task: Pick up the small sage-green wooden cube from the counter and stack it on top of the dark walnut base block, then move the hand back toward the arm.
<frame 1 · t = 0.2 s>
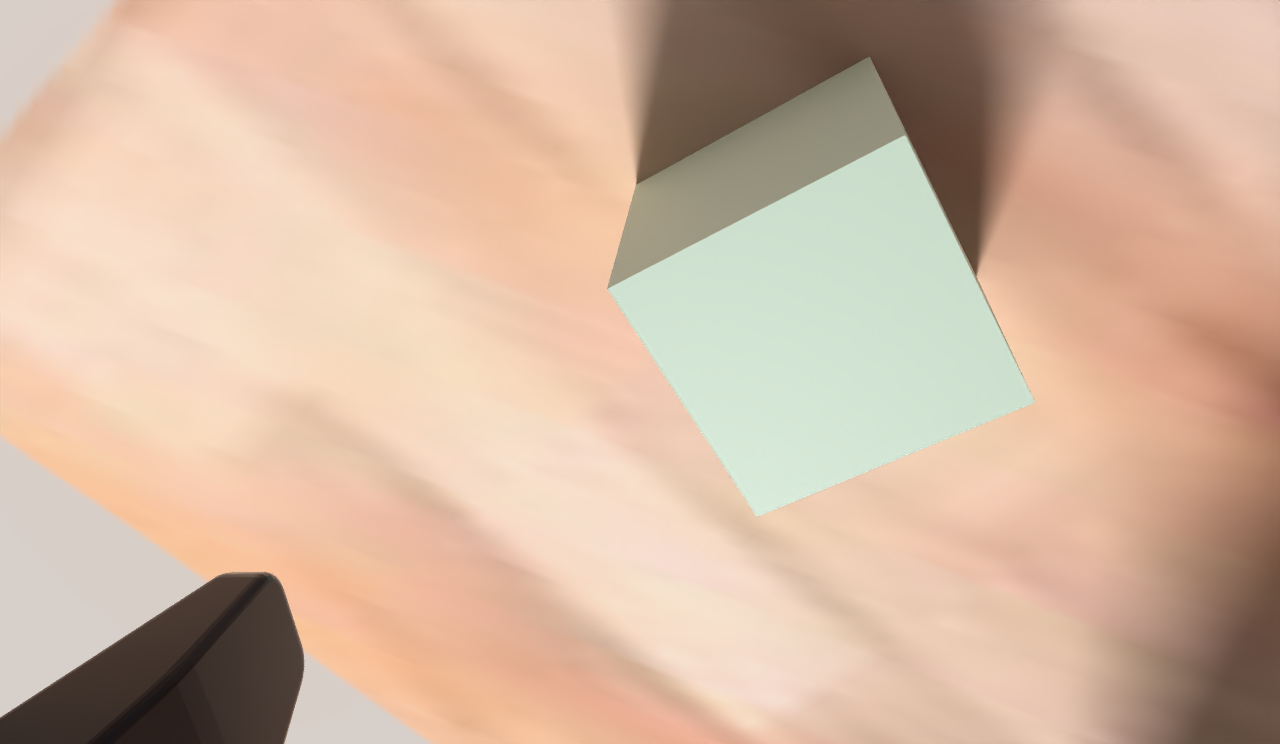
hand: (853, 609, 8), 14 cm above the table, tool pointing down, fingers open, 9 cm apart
sage cube: (807, 229, 21), on the table
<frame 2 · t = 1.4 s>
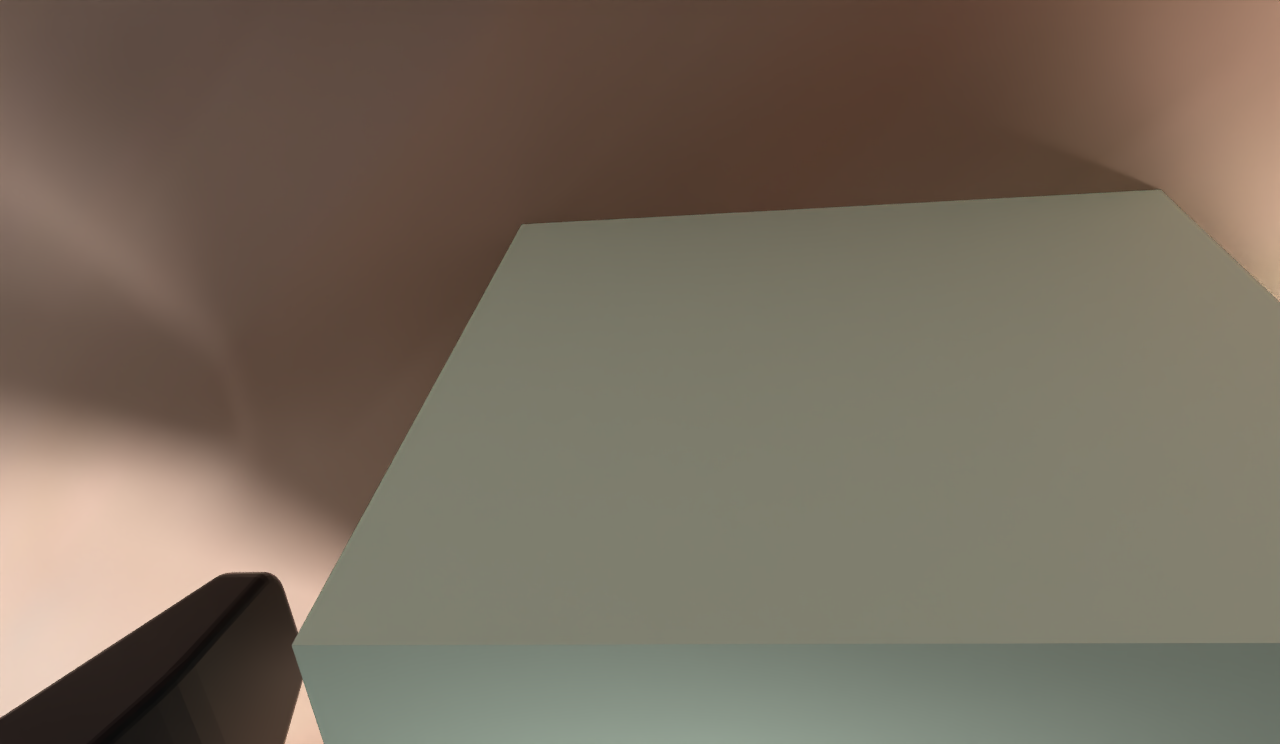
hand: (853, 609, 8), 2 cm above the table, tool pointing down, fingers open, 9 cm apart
sage cube: (829, 464, 10), on the table
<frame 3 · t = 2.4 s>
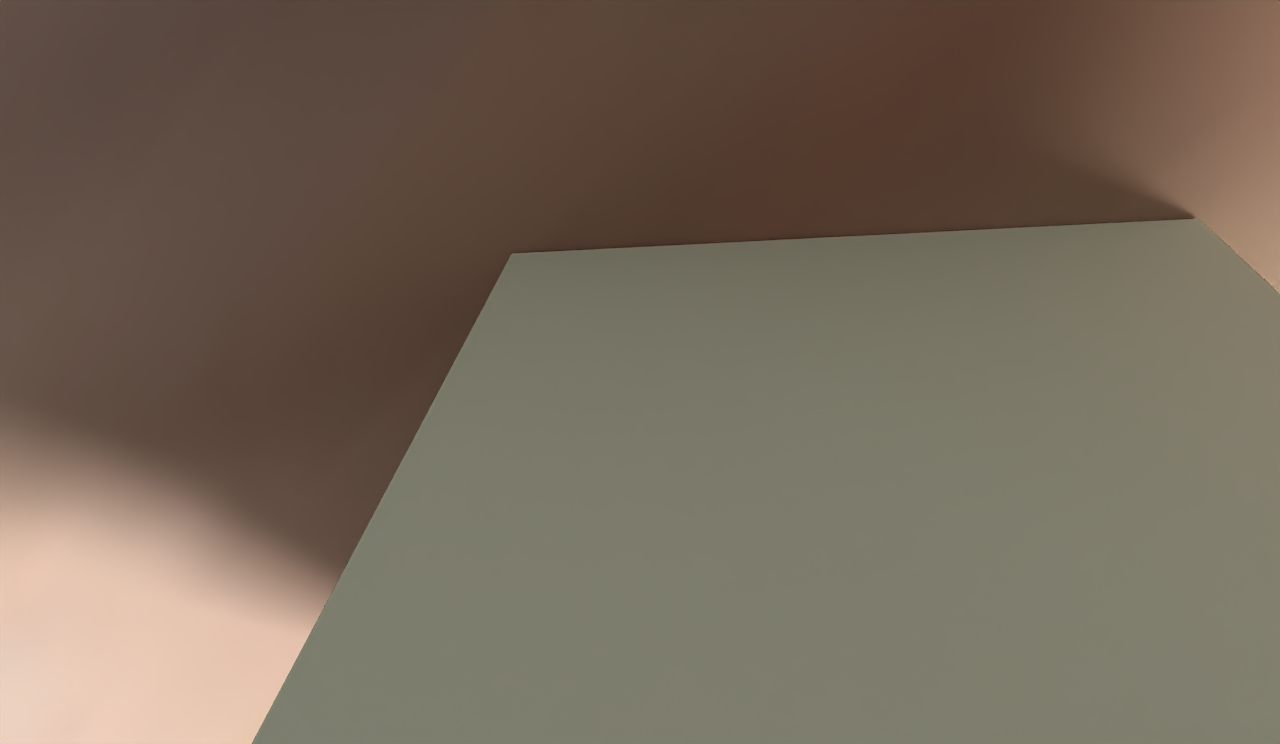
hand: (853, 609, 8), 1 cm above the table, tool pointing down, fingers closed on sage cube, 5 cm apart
sage cube: (841, 511, 9), on the table, touching gripper
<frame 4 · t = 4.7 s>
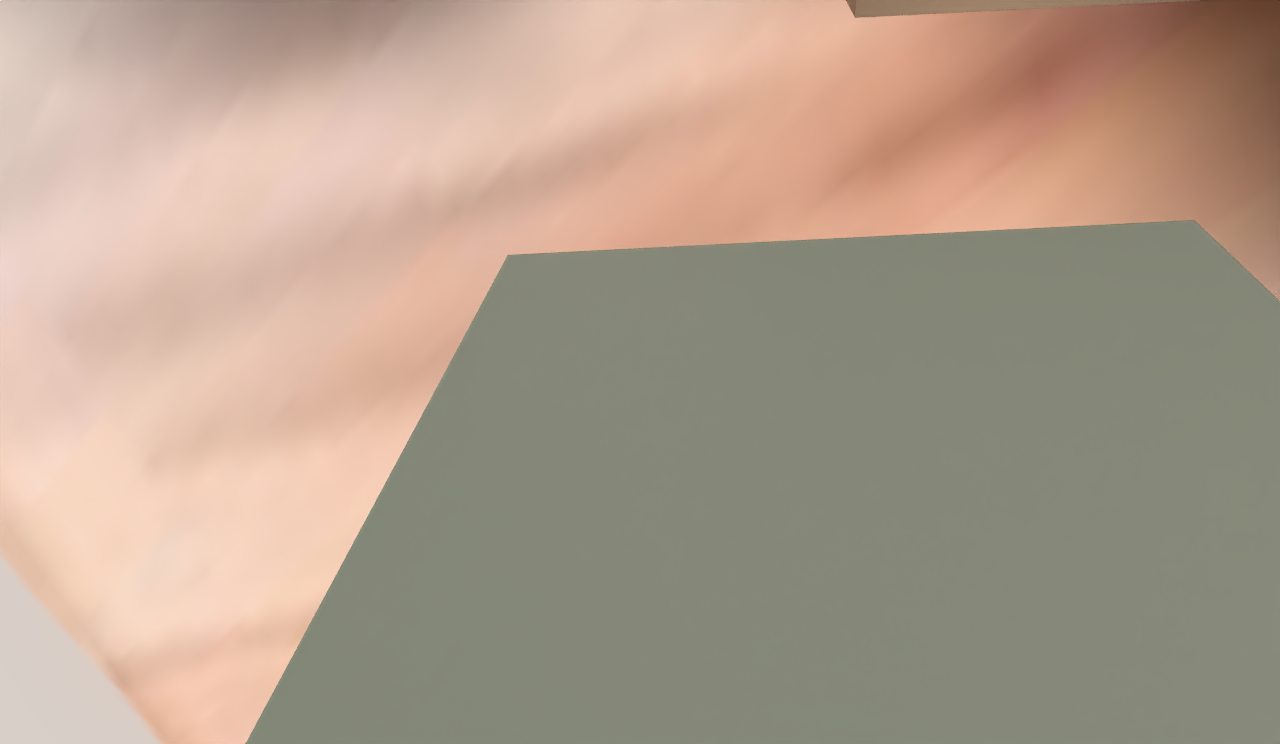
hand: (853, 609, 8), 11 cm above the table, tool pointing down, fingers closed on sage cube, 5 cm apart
sage cube: (837, 512, 9), point 10 cm above the table, touching gripper
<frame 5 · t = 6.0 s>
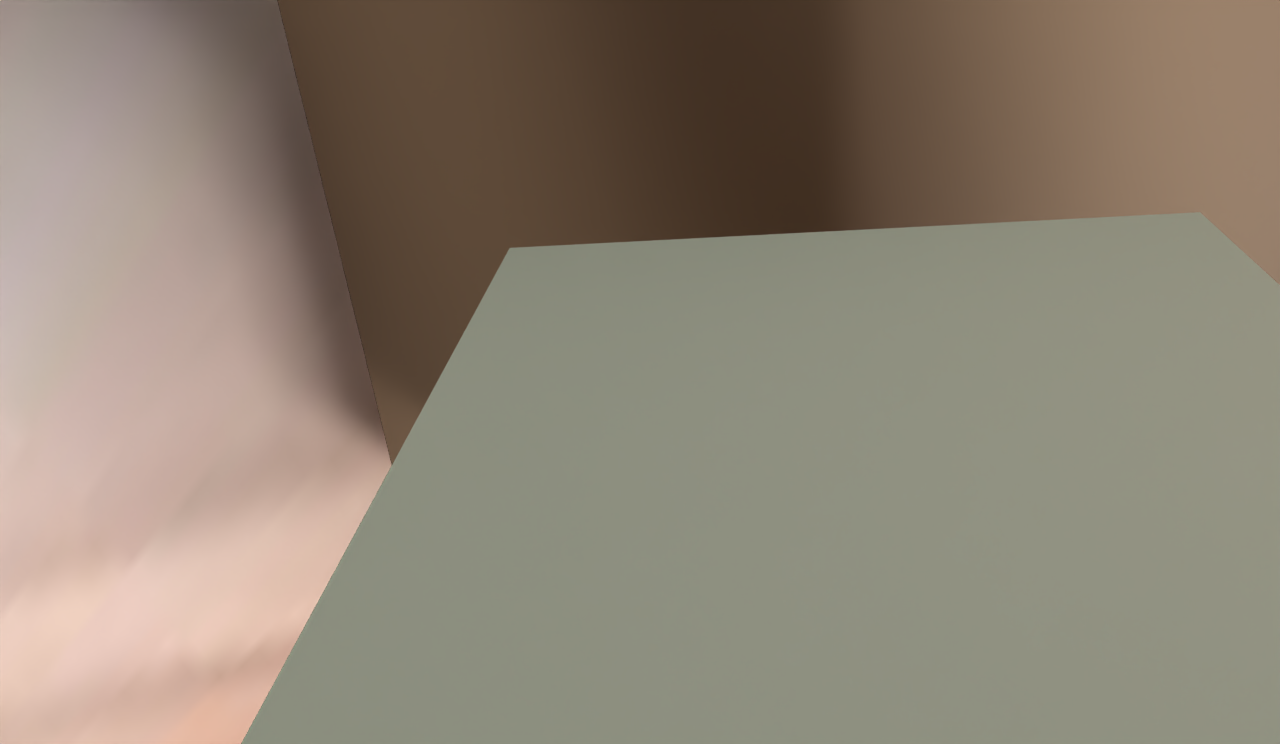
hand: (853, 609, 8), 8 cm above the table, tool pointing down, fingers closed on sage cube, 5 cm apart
sage cube: (840, 507, 9), point 7 cm above the table, touching gripper
walnut base: (800, 225, 15), on the table
when the fingers open (7 cm above the table, at t = 7.1 s): sage cube drops 1 cm, resting on walnut base.
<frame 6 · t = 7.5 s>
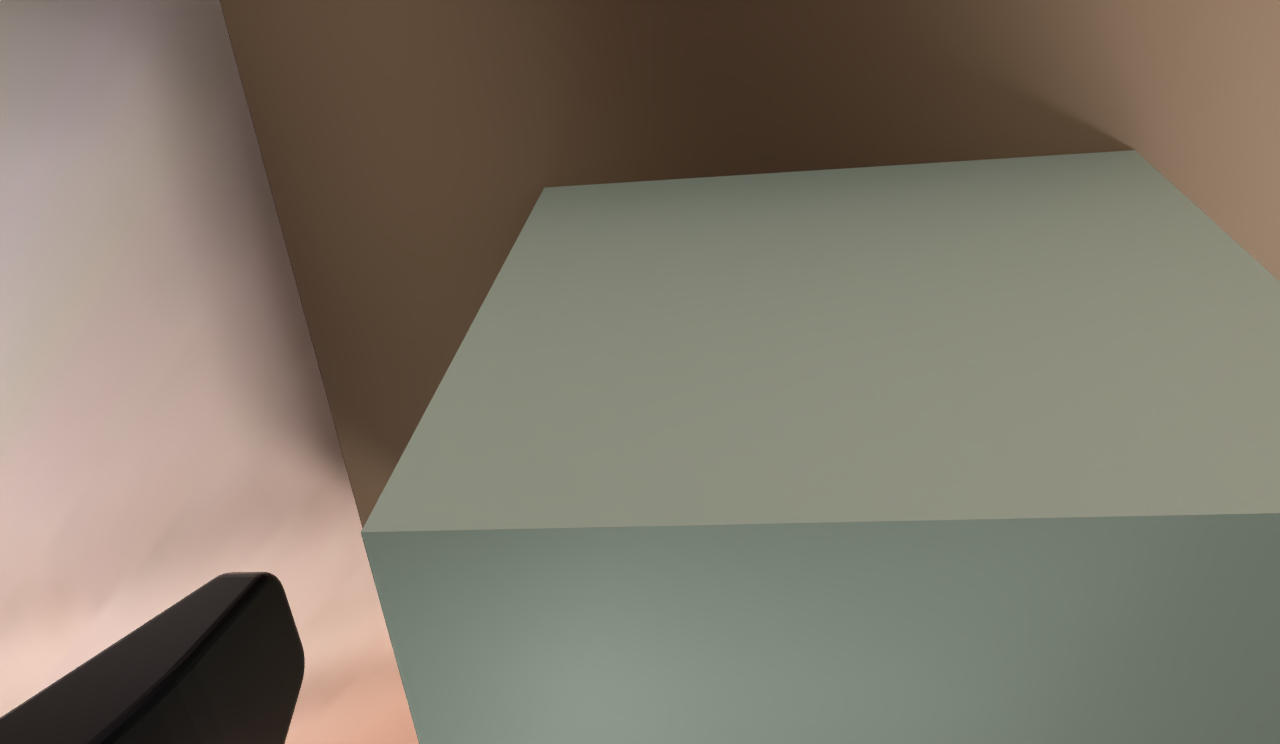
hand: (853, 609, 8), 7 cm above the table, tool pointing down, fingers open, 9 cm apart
sage cube: (831, 418, 10), point 4 cm above the table, touching walnut base
walnut base: (807, 261, 14), on the table
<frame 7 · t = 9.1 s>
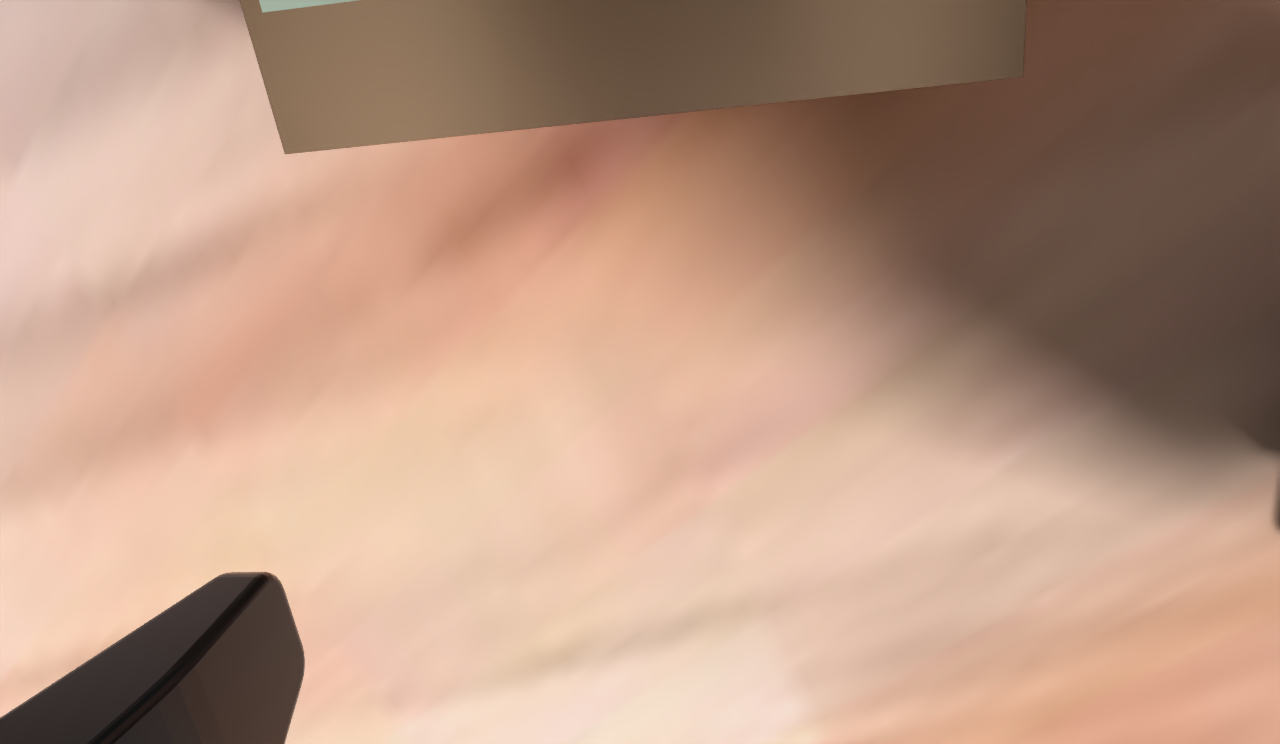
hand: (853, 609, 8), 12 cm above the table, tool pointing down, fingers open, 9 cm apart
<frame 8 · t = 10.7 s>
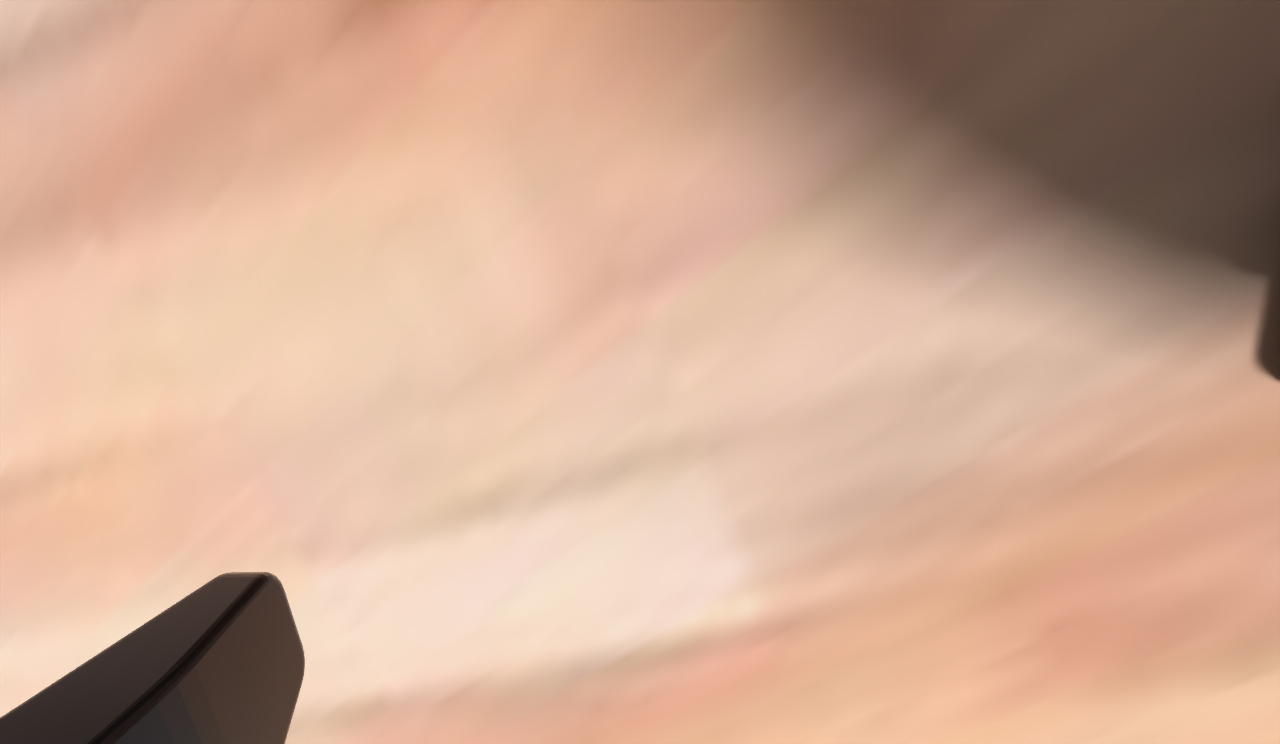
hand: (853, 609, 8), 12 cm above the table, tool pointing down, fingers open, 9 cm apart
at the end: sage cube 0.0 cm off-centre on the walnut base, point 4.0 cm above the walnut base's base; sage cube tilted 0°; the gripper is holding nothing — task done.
